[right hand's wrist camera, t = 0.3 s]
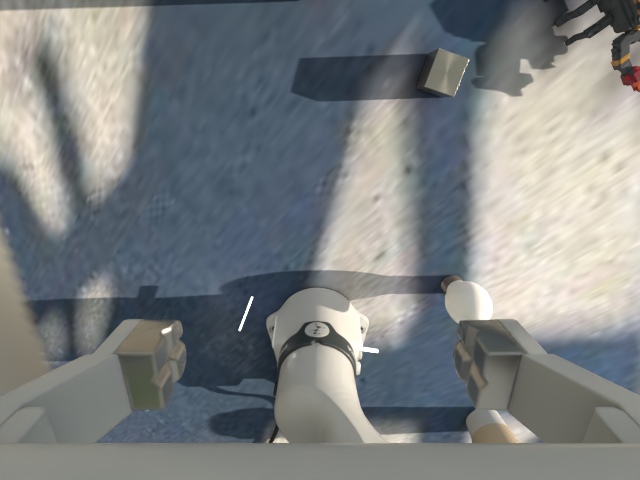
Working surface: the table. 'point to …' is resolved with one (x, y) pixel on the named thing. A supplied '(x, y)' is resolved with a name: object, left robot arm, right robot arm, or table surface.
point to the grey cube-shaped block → (442, 73)
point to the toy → (624, 16)
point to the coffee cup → (488, 428)
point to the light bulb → (466, 300)
